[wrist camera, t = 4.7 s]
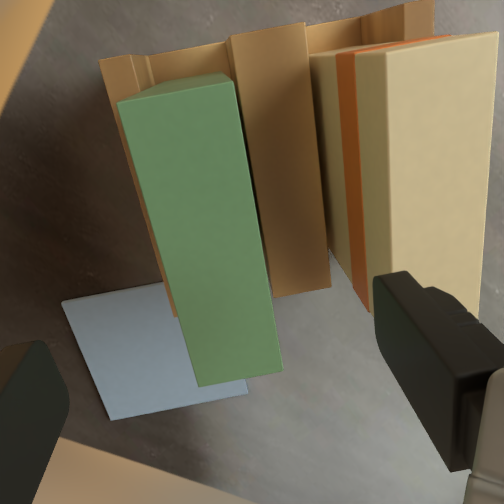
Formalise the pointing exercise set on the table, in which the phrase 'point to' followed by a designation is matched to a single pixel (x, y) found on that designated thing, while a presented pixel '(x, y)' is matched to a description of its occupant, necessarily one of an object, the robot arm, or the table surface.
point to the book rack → (272, 125)
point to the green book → (205, 223)
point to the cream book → (407, 159)
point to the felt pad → (139, 352)
